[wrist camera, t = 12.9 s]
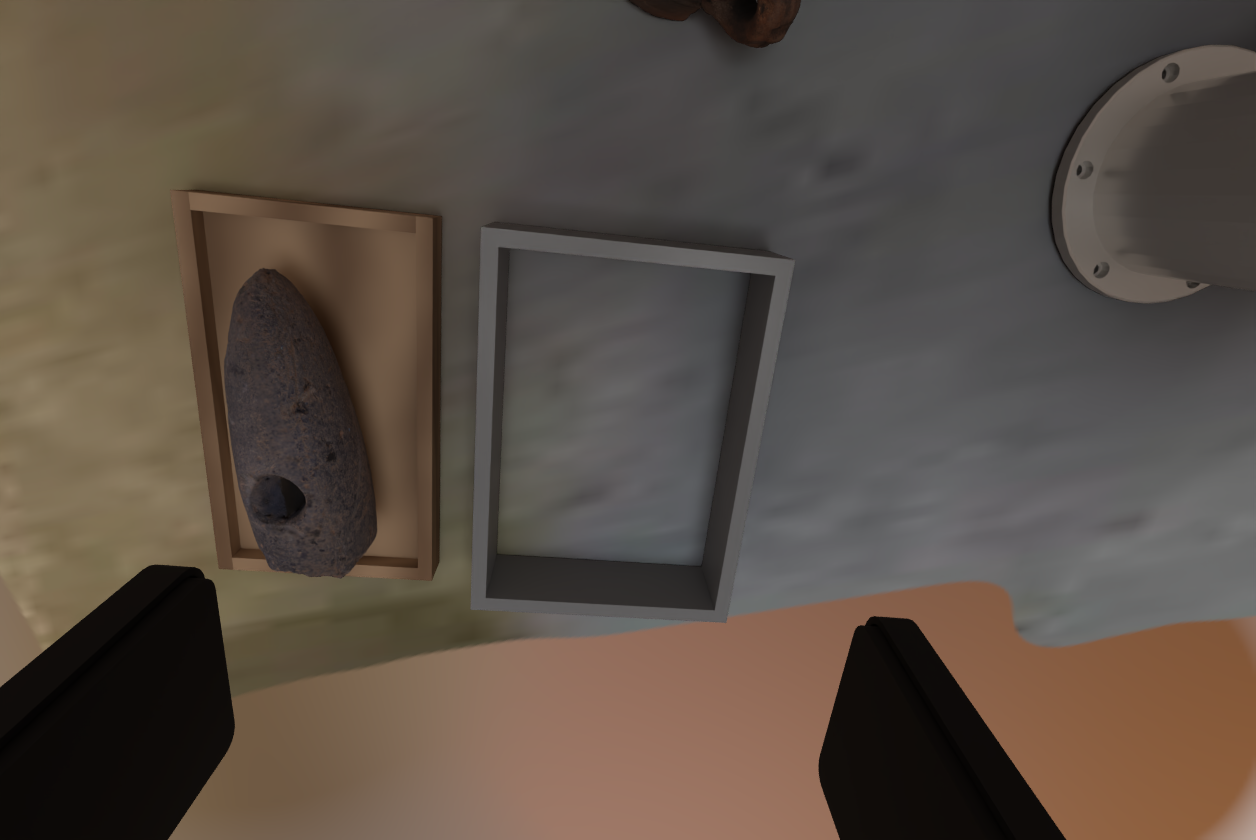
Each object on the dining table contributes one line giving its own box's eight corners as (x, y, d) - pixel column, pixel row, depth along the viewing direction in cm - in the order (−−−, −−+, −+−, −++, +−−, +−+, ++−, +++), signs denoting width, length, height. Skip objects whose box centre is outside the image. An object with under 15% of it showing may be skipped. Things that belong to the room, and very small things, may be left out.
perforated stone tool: (241, 263, 32) (151, 282, 25) (347, 258, 32) (285, 276, 25) (306, 526, 37) (245, 598, 30) (397, 520, 37) (356, 591, 31)
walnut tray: (441, 216, 32) (432, 217, 31) (439, 562, 39) (431, 580, 38) (195, 189, 31) (170, 189, 30) (236, 550, 38) (218, 568, 36)
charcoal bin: (769, 251, 34) (795, 259, 30) (711, 578, 41) (726, 622, 37) (494, 222, 33) (481, 226, 29) (483, 564, 40) (470, 609, 35)
